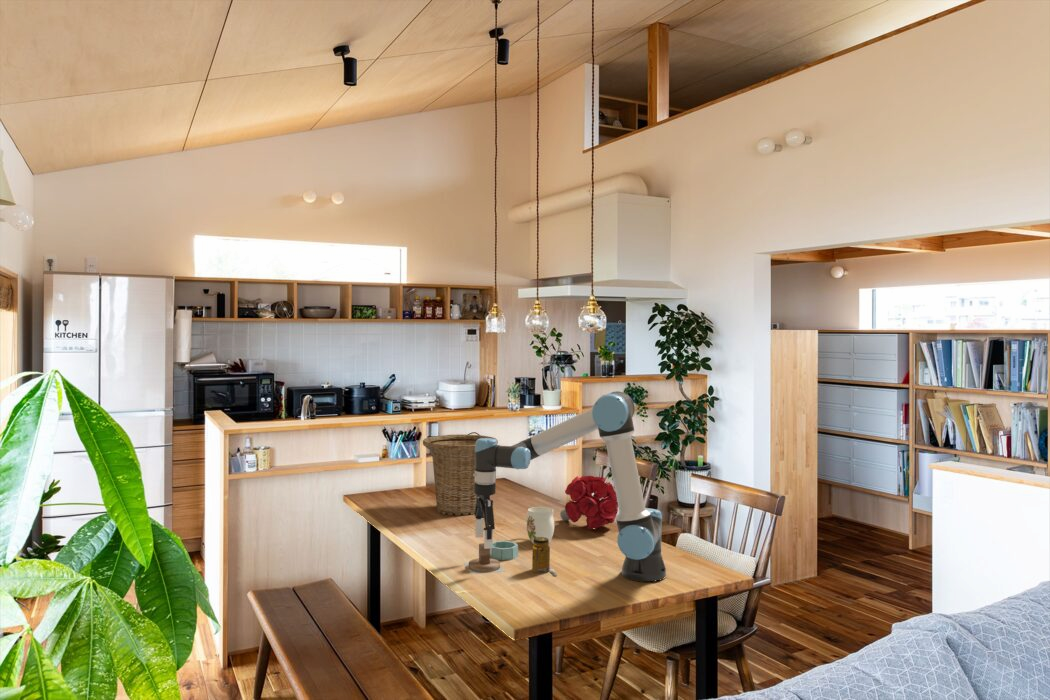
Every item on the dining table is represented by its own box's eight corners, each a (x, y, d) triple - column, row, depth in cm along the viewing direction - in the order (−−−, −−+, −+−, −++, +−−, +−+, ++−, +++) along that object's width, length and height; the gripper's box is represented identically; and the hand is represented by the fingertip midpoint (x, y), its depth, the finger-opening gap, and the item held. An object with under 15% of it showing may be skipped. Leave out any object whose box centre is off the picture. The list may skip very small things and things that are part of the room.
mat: (505, 573, 253) (505, 571, 253) (471, 576, 249) (471, 574, 249) (496, 562, 264) (496, 560, 264) (463, 565, 261) (464, 563, 261)
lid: (503, 570, 253) (503, 547, 253) (472, 573, 250) (472, 550, 250) (495, 561, 264) (495, 539, 263) (465, 563, 260) (465, 541, 260)
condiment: (530, 570, 257) (530, 536, 257) (554, 569, 258) (554, 535, 257) (532, 576, 250) (532, 542, 249) (557, 576, 250) (557, 541, 250)
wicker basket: (469, 523, 318) (470, 447, 317) (406, 513, 335) (407, 441, 334) (511, 507, 348) (511, 438, 347) (451, 498, 366) (451, 432, 365)
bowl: (520, 561, 267) (520, 547, 267) (493, 563, 264) (493, 549, 264) (512, 553, 276) (512, 540, 276) (487, 555, 273) (487, 542, 273)
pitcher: (538, 534, 301) (538, 501, 301) (563, 545, 286) (563, 511, 286) (515, 538, 296) (516, 504, 295) (539, 549, 280) (540, 514, 280)
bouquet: (553, 543, 313) (600, 520, 294) (538, 490, 322) (582, 465, 303) (588, 537, 327) (635, 515, 308) (572, 487, 336) (617, 463, 317)
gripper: (467, 475, 267) (465, 533, 267) (482, 490, 243) (481, 553, 244) (486, 475, 269) (485, 532, 270) (504, 489, 245) (503, 552, 246)
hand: (483, 542), depth 257 cm, fingers open, 13 cm apart
